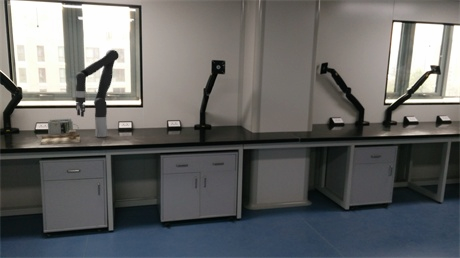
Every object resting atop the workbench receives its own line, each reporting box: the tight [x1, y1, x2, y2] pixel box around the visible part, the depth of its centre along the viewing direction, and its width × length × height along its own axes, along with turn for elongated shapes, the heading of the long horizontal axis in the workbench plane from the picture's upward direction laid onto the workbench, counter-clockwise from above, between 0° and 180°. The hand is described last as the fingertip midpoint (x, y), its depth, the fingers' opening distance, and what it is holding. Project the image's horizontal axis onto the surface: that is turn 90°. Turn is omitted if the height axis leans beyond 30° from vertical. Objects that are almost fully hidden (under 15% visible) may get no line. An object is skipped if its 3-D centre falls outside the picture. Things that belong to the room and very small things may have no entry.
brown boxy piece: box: [68, 130, 77, 139], centre depth 294 cm, size 5×10×6 cm, turn 23°
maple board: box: [40, 133, 81, 145], centre depth 292 cm, size 28×14×4 cm, turn 113°
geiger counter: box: [47, 117, 79, 136], centre depth 320 cm, size 14×6×25 cm
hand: (80, 115), depth 303 cm, fingers open, 8 cm apart
